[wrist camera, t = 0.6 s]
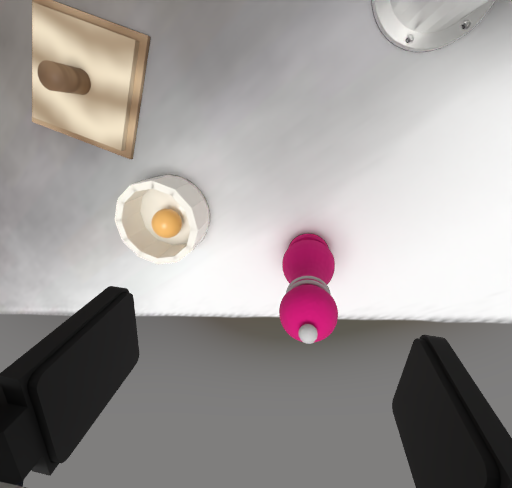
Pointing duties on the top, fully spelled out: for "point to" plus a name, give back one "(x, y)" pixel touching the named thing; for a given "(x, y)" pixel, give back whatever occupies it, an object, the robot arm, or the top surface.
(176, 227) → the orange ball
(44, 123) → the mat
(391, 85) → the top surface
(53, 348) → the robot arm
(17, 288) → the top surface
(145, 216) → the bowl
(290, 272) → the pepper mill
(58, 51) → the lid
